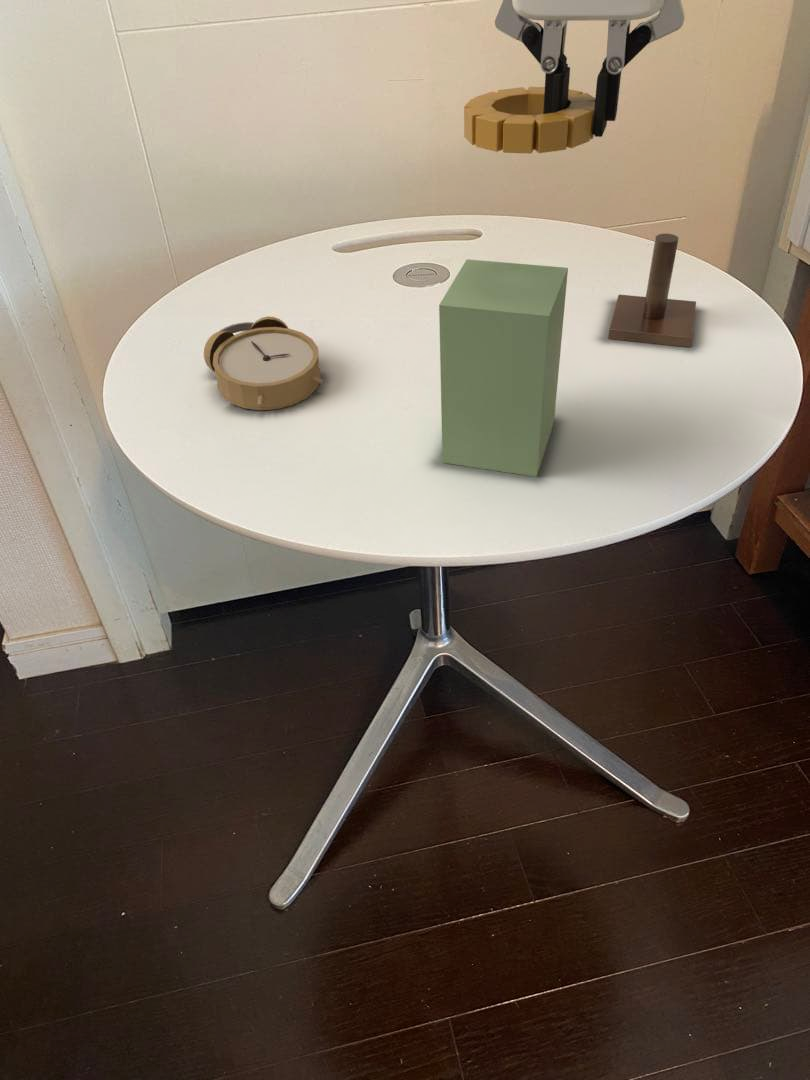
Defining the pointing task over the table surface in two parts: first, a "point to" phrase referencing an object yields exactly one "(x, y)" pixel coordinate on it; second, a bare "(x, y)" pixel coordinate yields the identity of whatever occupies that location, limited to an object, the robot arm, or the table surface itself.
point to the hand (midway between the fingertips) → (578, 128)
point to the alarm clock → (263, 364)
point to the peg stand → (655, 305)
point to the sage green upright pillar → (500, 364)
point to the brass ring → (527, 121)
